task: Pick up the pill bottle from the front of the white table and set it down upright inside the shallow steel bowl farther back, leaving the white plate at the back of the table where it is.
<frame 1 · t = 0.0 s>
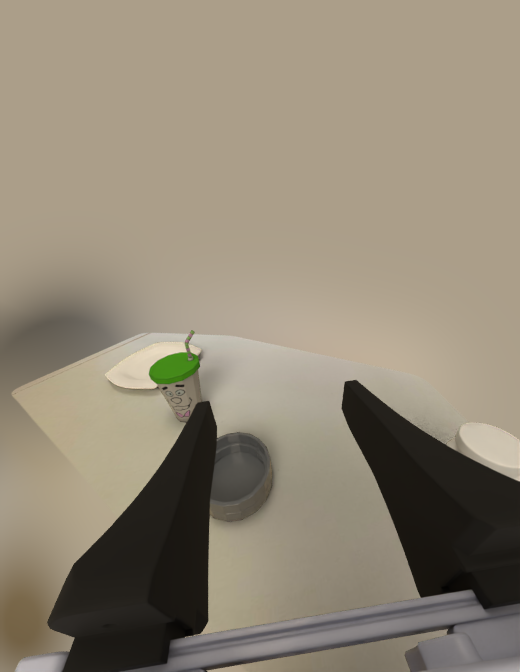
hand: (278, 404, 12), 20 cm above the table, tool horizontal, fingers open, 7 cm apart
pill bottle: (460, 507, 25), on the table
bowl: (236, 481, 30), on the table
plate: (158, 368, 57), on the table
cup: (190, 413, 42), on the table
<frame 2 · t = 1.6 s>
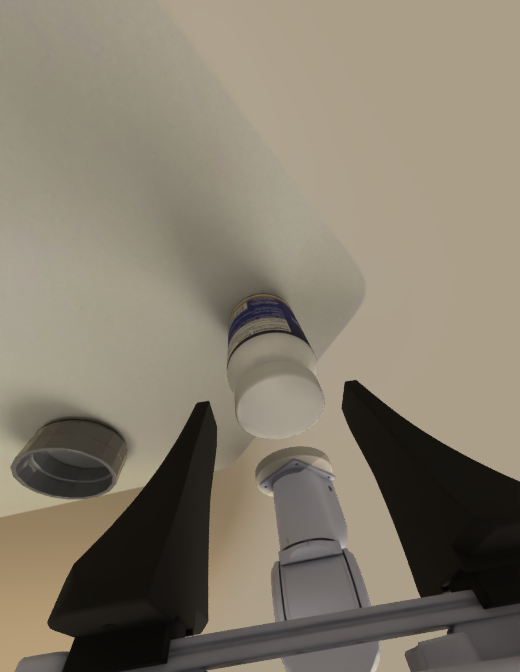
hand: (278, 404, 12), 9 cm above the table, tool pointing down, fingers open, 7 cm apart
pill bottle: (261, 321, 21), on the table
bowl: (85, 444, 26), on the table
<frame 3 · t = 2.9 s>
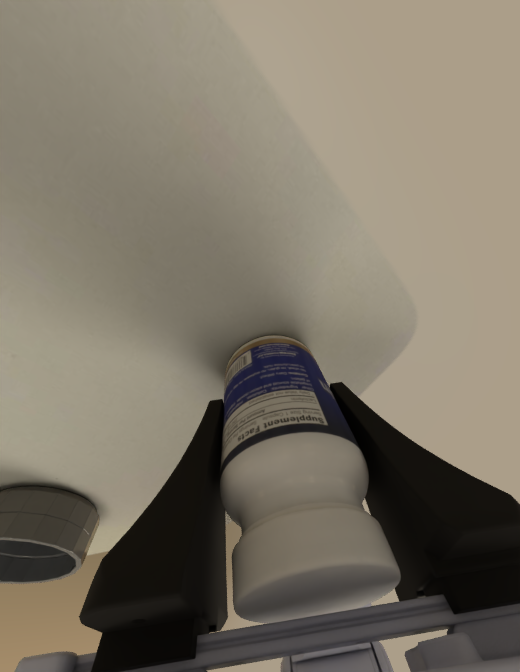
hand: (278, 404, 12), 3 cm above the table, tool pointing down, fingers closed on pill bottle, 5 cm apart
pill bottle: (270, 368, 15), on the table, touching gripper
bowl: (45, 510, 21), on the table
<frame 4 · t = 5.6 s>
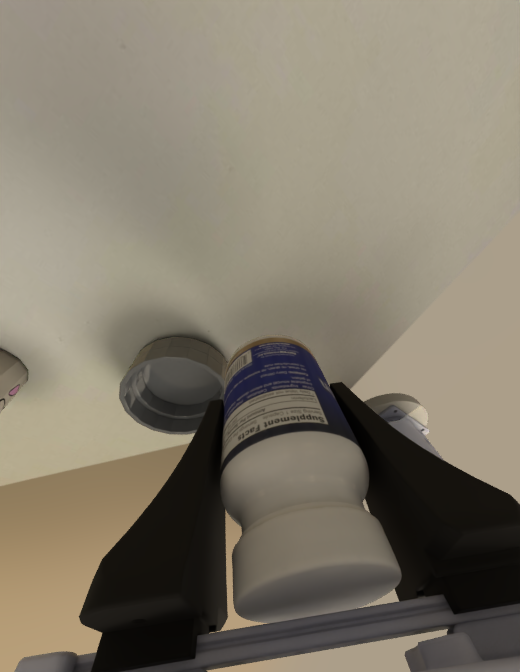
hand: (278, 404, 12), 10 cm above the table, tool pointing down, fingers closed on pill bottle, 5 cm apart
pill bottle: (270, 367, 15), point 7 cm above the table, touching gripper
bowl: (184, 374, 23), on the table
cup: (0, 366, 21), on the table
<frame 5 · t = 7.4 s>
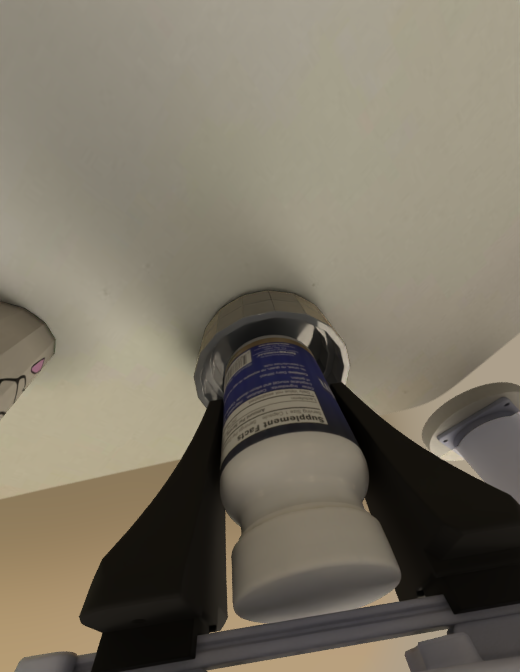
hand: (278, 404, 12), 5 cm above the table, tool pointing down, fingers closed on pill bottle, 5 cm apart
pill bottle: (269, 367, 15), point 2 cm above the table, touching gripper
bowl: (266, 349, 17), on the table
cup: (16, 333, 15), on the table
when the fingers open (3 cm above the table, at t = 8.6 s): pill bottle stays where it is, resting on bowl.
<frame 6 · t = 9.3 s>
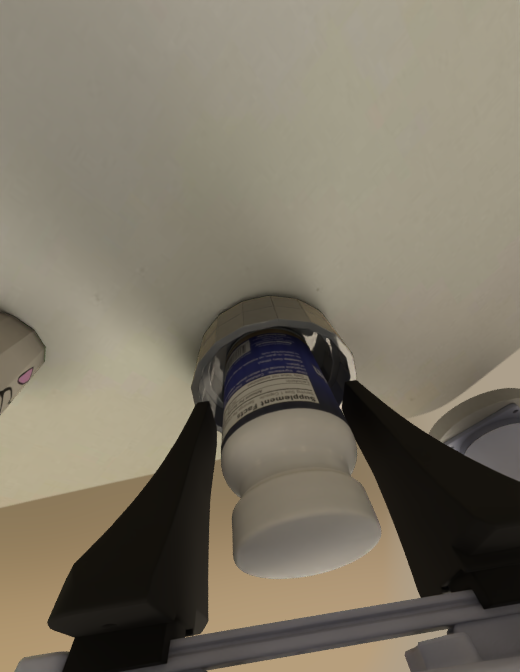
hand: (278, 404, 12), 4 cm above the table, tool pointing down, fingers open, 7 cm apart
pill bottle: (267, 358, 16), resting on bowl
bowl: (268, 356, 16), on the table
cup: (4, 341, 14), on the table
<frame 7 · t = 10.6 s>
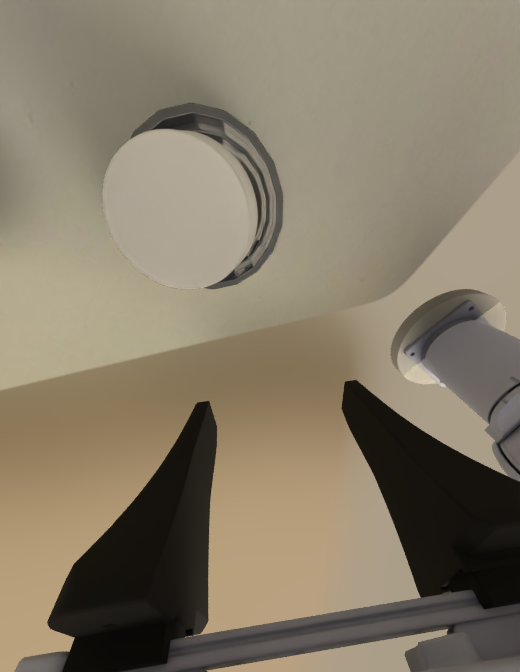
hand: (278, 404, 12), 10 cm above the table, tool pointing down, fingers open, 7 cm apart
pill bottle: (208, 209, 16), resting on bowl
bowl: (210, 209, 16), on the table
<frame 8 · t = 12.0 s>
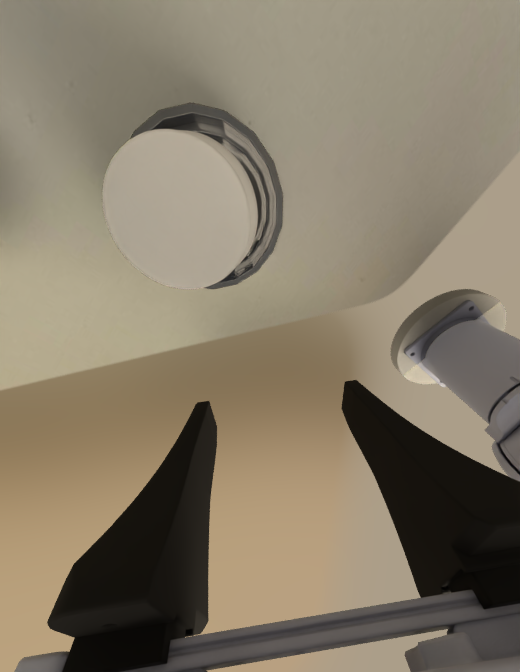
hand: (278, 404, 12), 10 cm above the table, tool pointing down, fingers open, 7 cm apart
pill bottle: (208, 209, 16), resting on bowl
bowl: (210, 209, 16), on the table
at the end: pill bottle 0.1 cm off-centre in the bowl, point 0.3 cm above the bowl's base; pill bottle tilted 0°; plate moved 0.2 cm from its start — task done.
